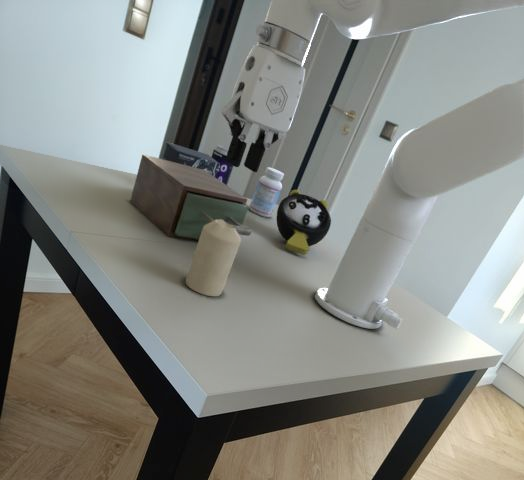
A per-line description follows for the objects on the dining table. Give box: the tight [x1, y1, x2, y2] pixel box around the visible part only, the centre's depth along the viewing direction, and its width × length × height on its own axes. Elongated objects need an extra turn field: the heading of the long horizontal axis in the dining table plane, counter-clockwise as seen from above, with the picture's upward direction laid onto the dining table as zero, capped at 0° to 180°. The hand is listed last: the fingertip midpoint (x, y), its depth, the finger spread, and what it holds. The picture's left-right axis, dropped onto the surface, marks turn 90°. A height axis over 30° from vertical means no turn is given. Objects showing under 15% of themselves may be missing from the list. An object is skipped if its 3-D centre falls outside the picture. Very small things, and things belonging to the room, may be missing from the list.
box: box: [161, 141, 220, 177], centre depth 111 cm, size 11×7×10 cm, turn 123°
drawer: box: [175, 191, 252, 239], centre depth 92 cm, size 21×13×7 cm, turn 39°
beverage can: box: [211, 144, 234, 186], centre depth 124 cm, size 6×6×12 cm
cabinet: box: [130, 153, 248, 241], centre depth 96 cm, size 16×14×9 cm
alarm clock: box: [276, 189, 332, 256], centre depth 114 cm, size 12×15×15 cm
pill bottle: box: [248, 166, 285, 218], centre depth 129 cm, size 6×6×11 cm
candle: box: [185, 219, 242, 297], centre depth 72 cm, size 6×6×10 cm
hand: (241, 165), depth 84 cm, fingers open, 3 cm apart
